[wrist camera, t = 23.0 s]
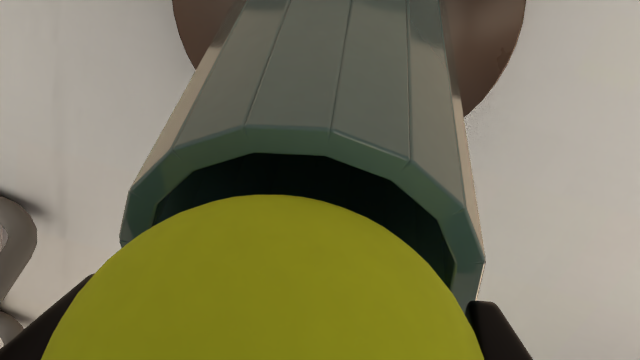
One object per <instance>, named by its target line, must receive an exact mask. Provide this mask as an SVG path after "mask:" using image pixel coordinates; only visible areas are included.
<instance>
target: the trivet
mask: <svg viewBox="0 0 640 360" xmlns="http://www.w3.org/2000/svg"><path fill="white" fill-rule="evenodd" d="M234 1H235V0H172V3H173V11H174V16H175V20H176V24H177V28H178V32H179V35H180V38H181V40H182V43H183V45H184V48H185V50H186V53H187V55H188V57H189V59H190V61H191V62H192V64H193V66H194V68H195V70H196V69H197V67H198V66H199V64H200V62H201V60H202V58H203V57H204V55H205V53H206V51H207V49H208V48H209V46H210V44H211V42H212V40H213V39H214V37H215V35H216V33H217V32H218V30H219V28H220V26H221V24H222V23H223V21H224V19H225V17H226V15H227V14H228V12H229V10H230V8H231V6H232V5H233V3H234ZM444 2H445V5H446V8H447V14H448V20H449V27H450V33H451V40H452V46H453V52H454V59H455V65H456V72H457V78H458V85H459V91H460V97H461V104H462V110H463V117H465V116H466V115H467V114H469V113H470V112H471V111H472V110H473V109H474V108H475V107H476V106H477V105H478V104H479V103H480V102H481V101H482V100H483V99H484V98H485V96H486V95H487V94H488V93H489V91H490V90H491V89H492V88H493V86H494V85H495V84H496V82H497V81H498V79H499V77H500V76H501V74H502V73H503V71H504V69H505V68H506V66H507V64H508V62H509V60H510V58H511V55H512V53H513V51H514V49H515V46H516V44H517V40H518V37H519V34H520V30H521V27H522V24H523V18H524V11H525V4H526V0H444Z"/></svg>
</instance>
